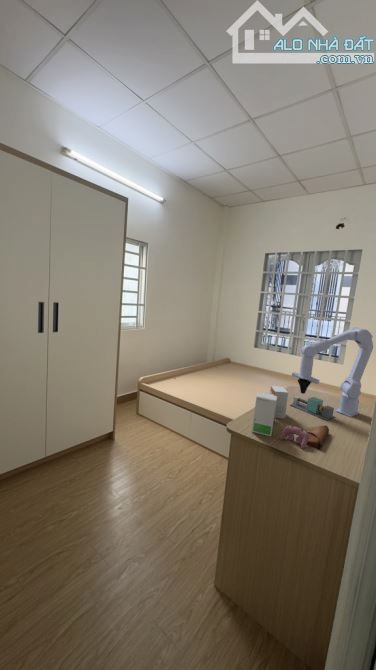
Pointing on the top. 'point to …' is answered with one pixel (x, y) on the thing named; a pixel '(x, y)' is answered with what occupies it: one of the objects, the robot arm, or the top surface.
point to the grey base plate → (304, 407)
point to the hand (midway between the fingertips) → (302, 393)
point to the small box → (280, 400)
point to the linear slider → (326, 410)
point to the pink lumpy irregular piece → (298, 431)
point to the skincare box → (264, 414)
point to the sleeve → (314, 404)
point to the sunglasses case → (317, 436)
